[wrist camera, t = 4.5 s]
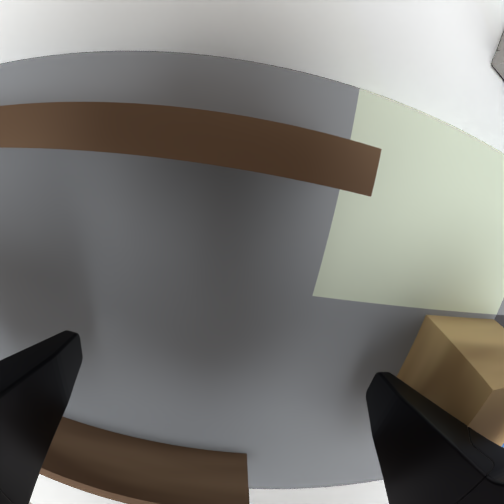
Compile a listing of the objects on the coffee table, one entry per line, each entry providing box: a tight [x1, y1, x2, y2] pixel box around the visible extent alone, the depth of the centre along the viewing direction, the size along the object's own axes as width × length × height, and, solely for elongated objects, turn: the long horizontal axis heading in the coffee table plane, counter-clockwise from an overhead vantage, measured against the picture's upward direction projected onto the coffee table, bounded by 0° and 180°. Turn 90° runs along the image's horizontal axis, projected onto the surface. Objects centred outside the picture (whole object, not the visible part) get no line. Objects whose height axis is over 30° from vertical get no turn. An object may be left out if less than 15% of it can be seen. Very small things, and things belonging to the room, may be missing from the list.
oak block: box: [397, 315, 504, 446], centre depth 8 cm, size 4×4×4 cm
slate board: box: [0, 51, 504, 489], centre depth 10 cm, size 17×36×1 cm, turn 80°
